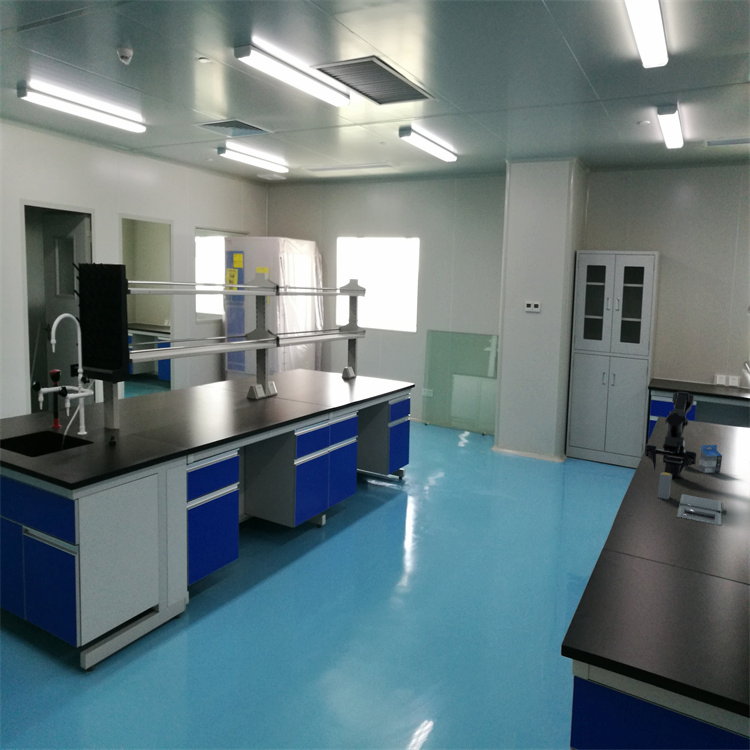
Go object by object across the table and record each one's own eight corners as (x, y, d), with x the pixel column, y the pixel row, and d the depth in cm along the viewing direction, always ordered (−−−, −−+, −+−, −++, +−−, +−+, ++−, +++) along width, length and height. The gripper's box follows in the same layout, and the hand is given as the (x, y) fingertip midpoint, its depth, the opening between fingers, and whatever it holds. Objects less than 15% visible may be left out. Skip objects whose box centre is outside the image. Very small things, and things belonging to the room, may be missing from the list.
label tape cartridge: (704, 473, 278) (707, 447, 277) (697, 471, 282) (701, 445, 280) (720, 473, 281) (723, 446, 279) (713, 470, 285) (716, 444, 283)
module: (658, 494, 246) (661, 471, 244) (669, 496, 244) (672, 473, 242) (657, 497, 242) (659, 473, 241) (668, 499, 240) (671, 475, 239)
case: (681, 495, 247) (682, 490, 246) (726, 503, 239) (726, 498, 239) (677, 516, 222) (677, 512, 222) (726, 526, 214) (727, 521, 214)
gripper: (648, 425, 251) (641, 456, 243) (699, 432, 241) (693, 465, 234) (648, 440, 259) (642, 471, 251) (698, 447, 249) (692, 480, 241)
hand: (666, 471), depth 244 cm, fingers open, 9 cm apart
